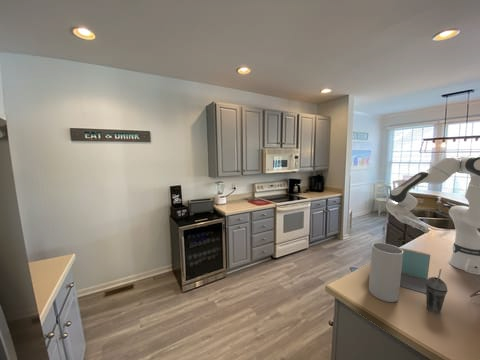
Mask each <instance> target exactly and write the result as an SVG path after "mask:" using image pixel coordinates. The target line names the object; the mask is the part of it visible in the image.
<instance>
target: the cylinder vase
mask: <svg viewBox="0 0 480 360" xmlns="http://www.w3.org/2000/svg"><path fill="white" fill-rule="evenodd" d="M400 248H401V247H399V248H398V246H395V245H394V244H393V245H392V244H391V243H390V244H389V243H384V242H373V243H372V244H371V255H370V256H371V257H370V268H369V281H368V291H369V293H370V294H371V295H372V296H373V297H375V298H376V299H379V300H381V301H384V302H387V303H396V302H397V301H398V300H399V297H400V279H401V269H402V260H403V250H402V249H400Z"/></svg>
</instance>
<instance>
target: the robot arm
mask: <svg viewBox="0 0 480 360" xmlns="http://www.w3.org/2000/svg"><path fill="white" fill-rule="evenodd" d="M455 173H459V174H467V175H469V176H470V181H469V183H468V186H467V188H466V192H465V195H464V197H465V199H466V200H467V203H468V206H467V205H453V206H451V207H450V208H449V209H448V216H449V217H450V218H451V220H452V222H453V224H454V230H455V237H454V242H453V245H452V254H451V257H450V259H449V260H448V264H449V265H451V266H452V267H454V268H457V269H459V270H461V271H463V272H466V273H467V274H471V275H477V276H480V232H479V230H478V229H480V155H470V156H469V155H468V156H464V157H463V156H462V157H458V158H455V157H451V156H446V157H443V158H441V159H439V160H438V161H437V162H435V163H433V165H432V166H431V167H429V168H428V169H427V170H424V171H419V172H418V173H416V174H415V175H413V176H411V178H409V179H407V180H406V181H405V182H403V183H401V184H400V185H398V186H397V187H395V188H393V189H391V191H390V193H389V199H390V200H387V202H386V203H385V209H386V210H387V212H389V214H390V215H392V216H394V217H395V219H396V220H398V221H399V222H400V223H401V224H406V225H409V226H410V227H412V228H414V229H416V230H417V229H418V230H420V231H422V232H423V233H425V234H429V227H428V226H427V224H425V223H424V222H423V221H422V220H421V219H420V217H418V216H416V215H414V213H412V210H414V209H415V208H417V207H418V204H419V200H418V199H417V198H416V197H415V196H413V195H412V194H410V193H409V192H410V191H411V190H412V189H414V188H415V187H417V186H418V185H420V184H423V183H425V184H430V185H440V184H443V183H444V182H446V181H447V180H448V179H450V178H451V177H452V176H453V175H454V174H455Z"/></svg>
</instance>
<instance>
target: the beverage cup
mask: <svg viewBox="0 0 480 360" xmlns="http://www.w3.org/2000/svg"><path fill="white" fill-rule="evenodd" d="M441 273H442V268H439V271H438V276H437V277H435V276H432V277H428V279H427V281H426V283H425V284H426V294H425V295H426V296H425V297H426V298H425V299H426V300H425V301H426V302H425V303H426V309H427V310H428V311H430V312H431V313H433V314H436V315H437V314H438V315H439V314H441V311H442V308H443V306H444V301H445V298H446V295H447V294H448V286H447V284H446V282H445V281H443V279H441Z"/></svg>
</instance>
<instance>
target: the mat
mask: <svg viewBox="0 0 480 360" xmlns="http://www.w3.org/2000/svg"><path fill="white" fill-rule="evenodd" d="M426 281H427V279H424V278H420V277H416V276H412V275H408V274H404V273H401V279H400V287H402V288H404V289H408V290H412V291H415V292H418V293H423V294H425V295H426V284H425V283H426Z"/></svg>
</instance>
